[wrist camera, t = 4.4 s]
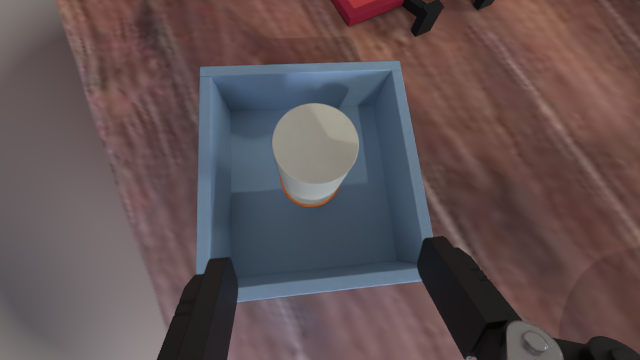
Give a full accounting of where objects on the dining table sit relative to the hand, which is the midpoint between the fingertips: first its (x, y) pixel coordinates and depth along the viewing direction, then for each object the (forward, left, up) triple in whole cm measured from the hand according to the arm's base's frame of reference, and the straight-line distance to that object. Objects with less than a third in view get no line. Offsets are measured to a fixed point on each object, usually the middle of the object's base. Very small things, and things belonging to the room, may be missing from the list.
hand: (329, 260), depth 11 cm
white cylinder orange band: (-5, -3, -10) cm, 11 cm away
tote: (-5, -3, -10) cm, 12 cm away
